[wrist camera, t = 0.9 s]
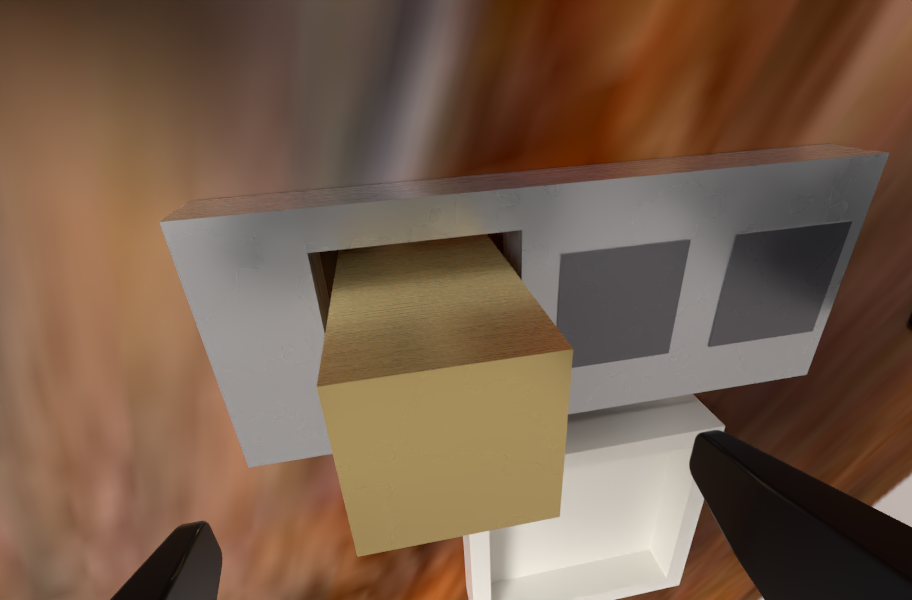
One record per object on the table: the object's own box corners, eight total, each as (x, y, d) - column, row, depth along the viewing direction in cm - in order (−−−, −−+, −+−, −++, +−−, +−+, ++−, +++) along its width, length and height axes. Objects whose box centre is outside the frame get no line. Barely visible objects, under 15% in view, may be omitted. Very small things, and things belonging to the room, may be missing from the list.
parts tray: (692, 393, 19) (725, 425, 17) (656, 546, 24) (679, 584, 22) (455, 432, 18) (465, 472, 16) (466, 587, 22) (474, 631, 21)
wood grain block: (484, 230, 14) (573, 349, 8) (486, 349, 16) (559, 516, 10) (339, 245, 14) (316, 386, 7) (361, 367, 16) (357, 557, 10)
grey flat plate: (827, 143, 15) (891, 152, 13) (765, 346, 19) (807, 375, 17) (189, 201, 12) (158, 222, 10) (261, 424, 16) (248, 468, 14)
